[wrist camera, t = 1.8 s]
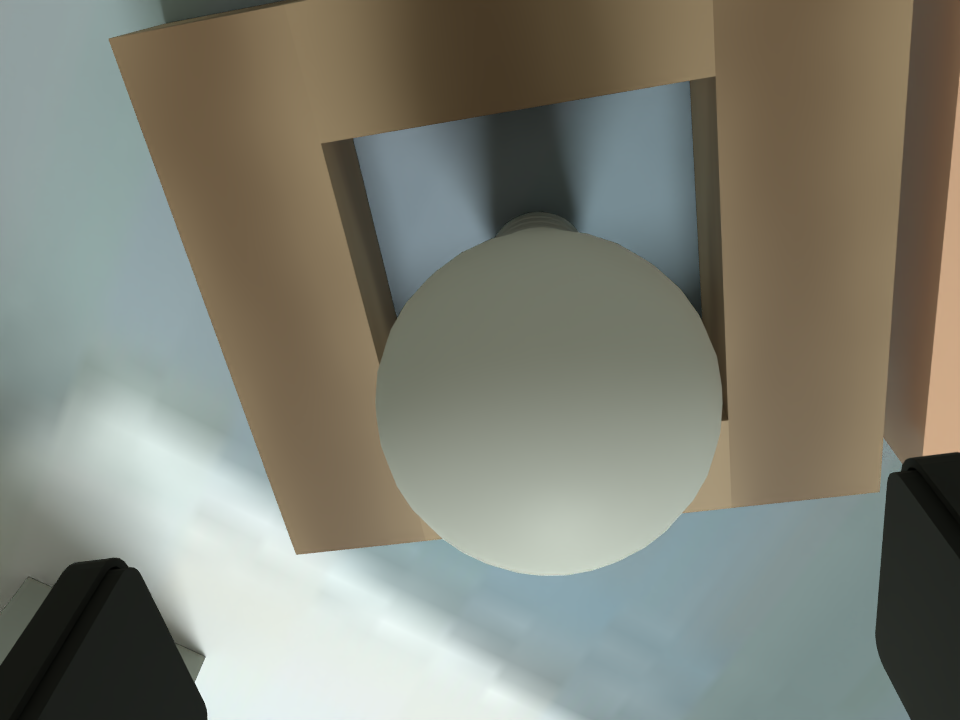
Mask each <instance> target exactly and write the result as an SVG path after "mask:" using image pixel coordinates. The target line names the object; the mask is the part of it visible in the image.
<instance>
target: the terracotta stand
mask: <svg viewBox="0 0 960 720" xmlns="http://www.w3.org/2000/svg"><path fill="white" fill-rule="evenodd" d="M883 437H884V439H885V440H886V442H887V443H888V444H889V446H890V447H891V449H892V450H893V451H894V453H895V454H896V456H897V457H898V458H899V460H900V461H901V463H902V464H903V463H904V461H905V460H906V459H908V458H912V457H920V456H928V455H936V454H944V453H952V452H959V453H960V0H913V14H912V28H911V43H910V57H909V72H908V86H907V101H906V115H905V130H904V144H903V159H902V173H901V188H900V202H899V217H898V231H897V246H896V260H895V275H894V289H893V304H892V318H891V333H890V347H889V362H888V376H887V391H886V405H885V420H884V434H883Z"/></svg>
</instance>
